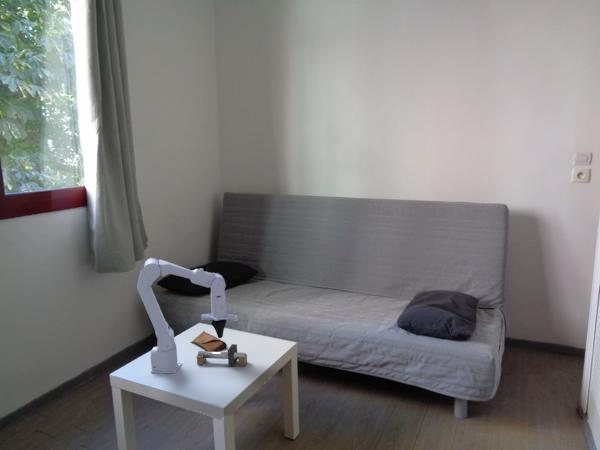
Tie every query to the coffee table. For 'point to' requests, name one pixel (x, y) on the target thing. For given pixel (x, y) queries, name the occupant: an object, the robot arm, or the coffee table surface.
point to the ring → (232, 354)
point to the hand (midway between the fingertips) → (220, 337)
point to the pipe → (221, 357)
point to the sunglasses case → (209, 342)
